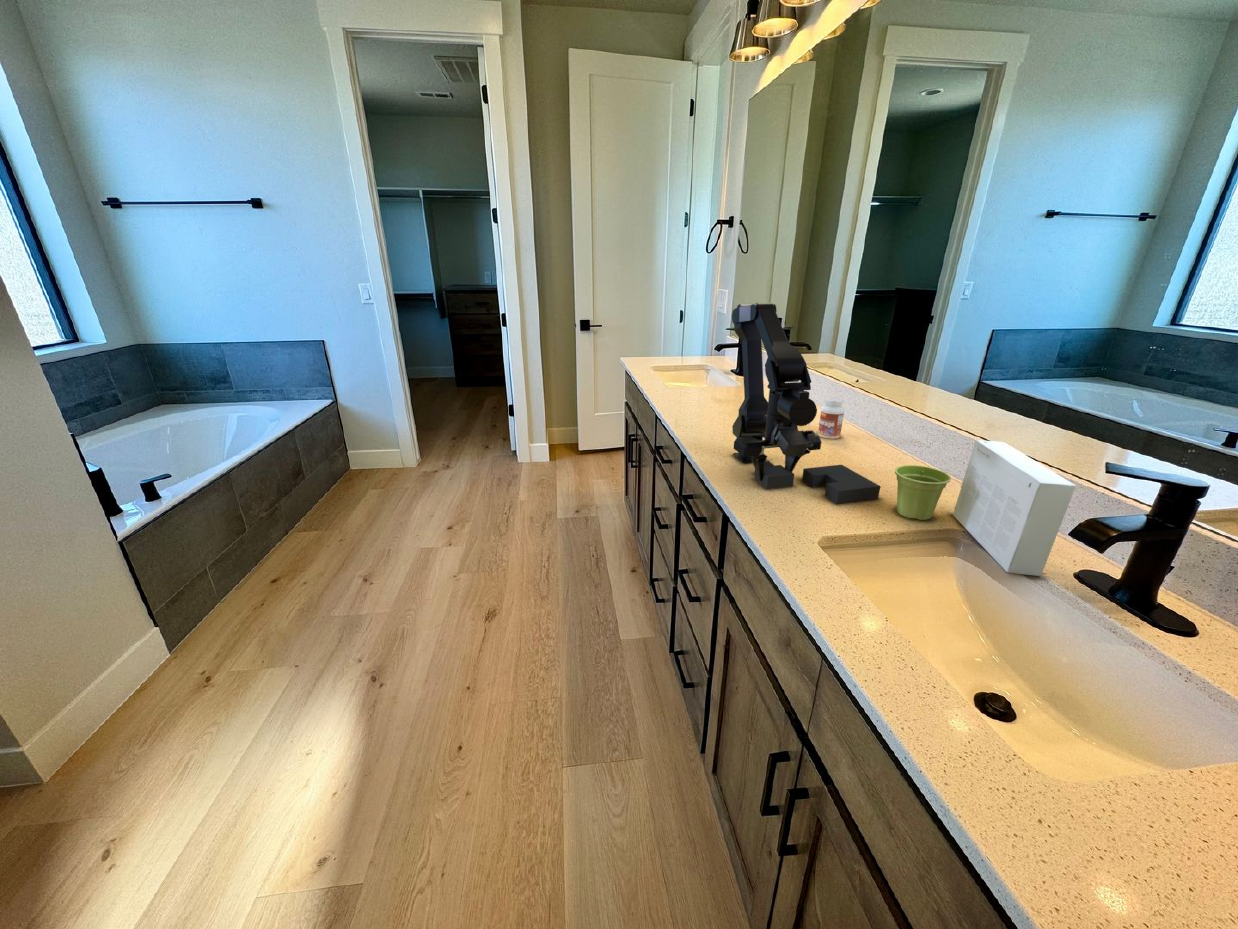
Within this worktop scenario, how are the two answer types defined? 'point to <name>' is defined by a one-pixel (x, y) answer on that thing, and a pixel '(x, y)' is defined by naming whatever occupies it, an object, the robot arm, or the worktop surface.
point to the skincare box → (1012, 506)
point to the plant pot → (919, 490)
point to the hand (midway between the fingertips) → (773, 478)
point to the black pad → (775, 476)
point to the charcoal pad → (841, 483)
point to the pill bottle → (831, 418)
